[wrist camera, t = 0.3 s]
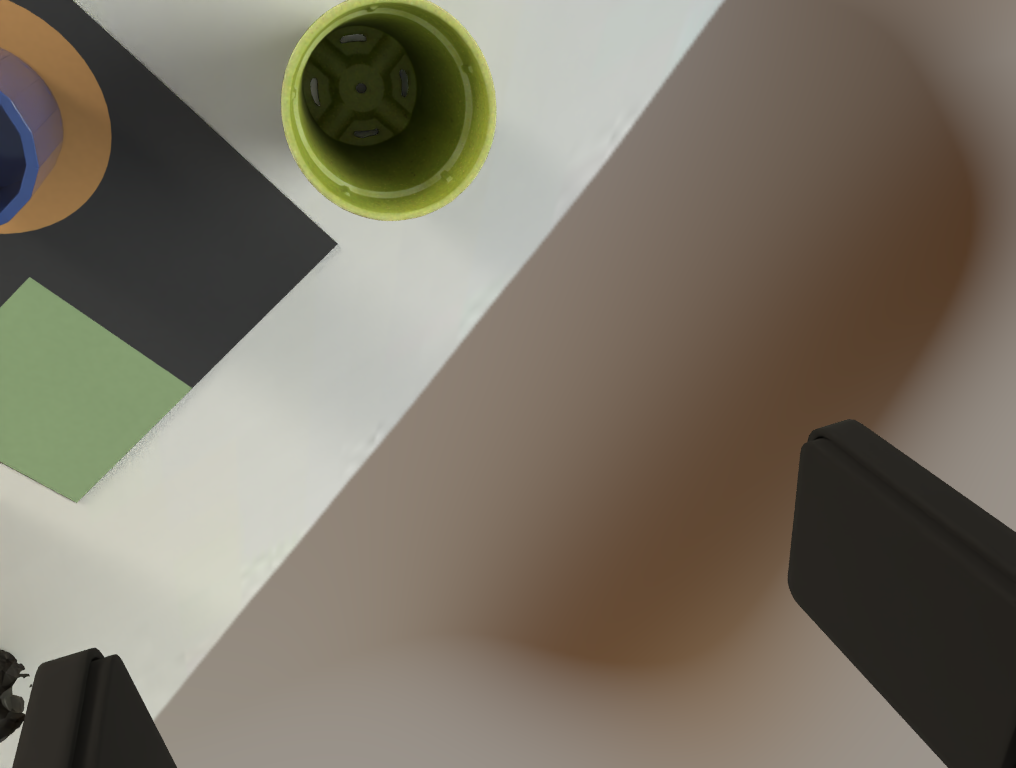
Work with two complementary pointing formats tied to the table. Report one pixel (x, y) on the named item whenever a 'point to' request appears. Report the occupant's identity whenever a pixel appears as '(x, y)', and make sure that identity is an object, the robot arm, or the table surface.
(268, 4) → the table surface
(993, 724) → the robot arm
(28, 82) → the blue cup
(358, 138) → the plant pot
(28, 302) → the desk mat
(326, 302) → the table surface
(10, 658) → the artificial flower
